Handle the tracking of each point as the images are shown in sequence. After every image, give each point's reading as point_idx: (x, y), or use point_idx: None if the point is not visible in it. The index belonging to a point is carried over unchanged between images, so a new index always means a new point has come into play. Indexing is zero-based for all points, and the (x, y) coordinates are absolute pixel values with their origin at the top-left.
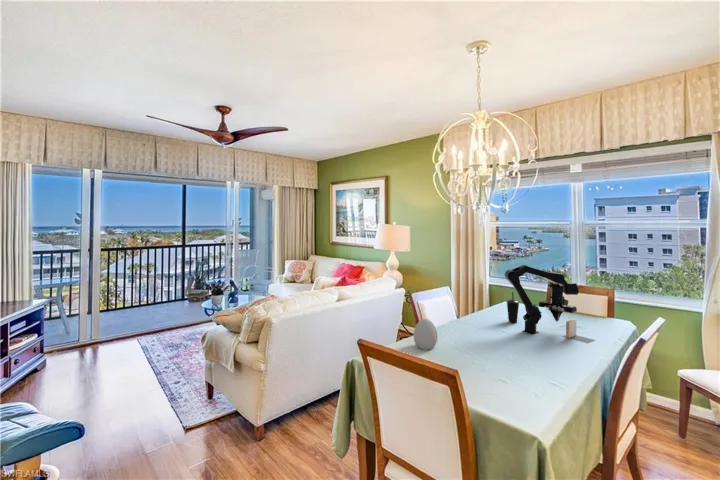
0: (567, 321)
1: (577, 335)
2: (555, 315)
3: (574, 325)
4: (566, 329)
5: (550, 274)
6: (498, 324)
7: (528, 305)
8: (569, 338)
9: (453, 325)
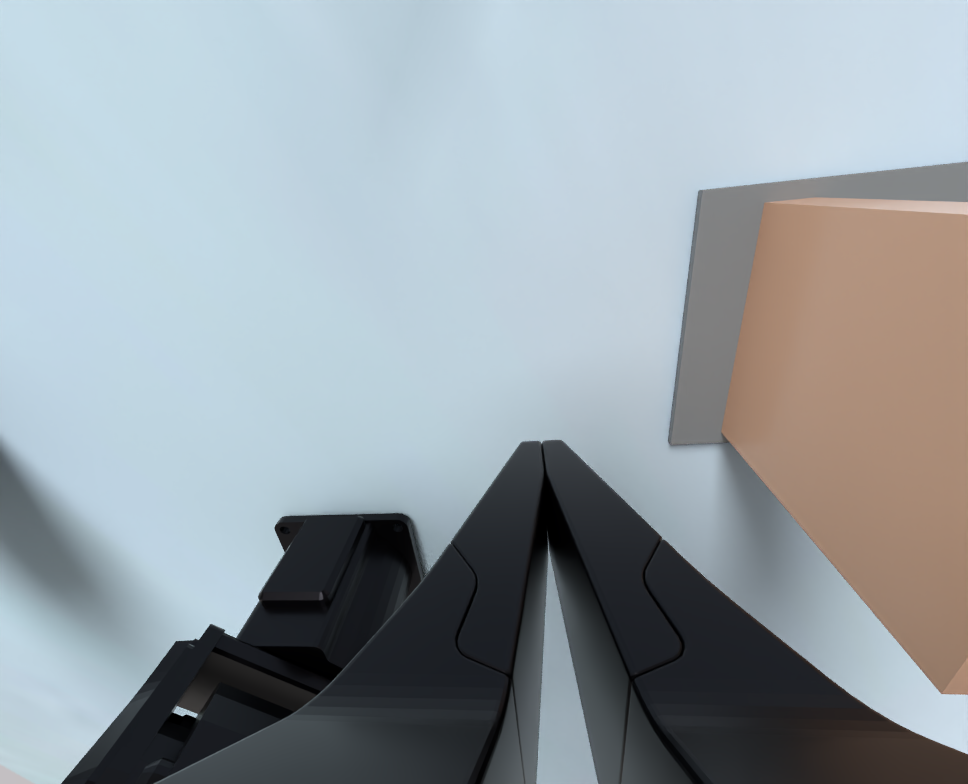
0: None
1: (840, 178)
2: (538, 663)
3: None
4: (800, 516)
5: None
6: (28, 581)
7: None
8: None
9: (52, 773)
